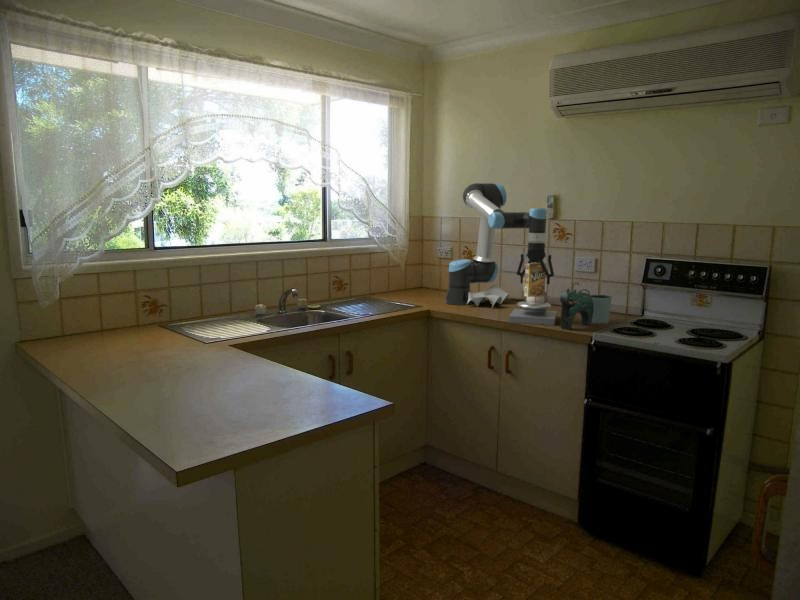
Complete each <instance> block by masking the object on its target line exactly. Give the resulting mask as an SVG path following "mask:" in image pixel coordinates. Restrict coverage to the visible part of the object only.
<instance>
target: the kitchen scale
mask: <svg viewBox="0 0 800 600" xmlns="http://www.w3.org/2000/svg"><path fill="white" fill-rule="evenodd" d="M547 297H548V291H547V292H545V297H526V296H524V301H536V302H545V303H547ZM557 313H558V311H557V310H555V311H554V310H547V308H546V309H530V308H523V309H522V308H521V309H520V308H514V309H513V310H512V311H511V313H510V314H509V315H508V323H512V324H524V323H530V324H529V325H539V324H544V325H543V326H555V324H556V321H557Z"/></svg>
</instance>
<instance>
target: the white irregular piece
mask: <svg viewBox="0 0 800 600" xmlns="http://www.w3.org/2000/svg"><path fill="white" fill-rule="evenodd" d="M509 295H510V293H509V292H506V291H505V290H504V289H503V288H502V286H500V285H498V284H496V285H491V286H490V287H489V288H488V289H487V290H483V291H479V292H471V293H470V292H468V302H469V301H471V300H473V303H474V304H475V306H476V307H480V306H479V305H480V304H481V303H486V298H487V299H488V300H489V305H490V304H492V305H491V309H493V308H494V306H495V304H498V305H499V306H501V305H502V303H503V301H504V300H505V301H504V302H505V303H506V301H508V298H509ZM468 302H467V304H468ZM500 304H501V305H500ZM468 305H469V304H468Z"/></svg>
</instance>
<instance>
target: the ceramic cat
mask: <svg viewBox="0 0 800 600" xmlns="http://www.w3.org/2000/svg"><path fill="white" fill-rule="evenodd" d="M575 284H576V285H577V286H579V285H580V284H579V282H574V283H572V287H571V289H572V290H570V288H567V289H564V290H563V291H562V292H561V293H560V295H559V300H560V303H561V313H560V316H561V317H560V318H561V319H560V320H561V321H560V329H561V328H562V329H561V330H565V329H566V331H569V329H570V330H572V326H573V322H574V319H575V317H576V315H577V314H580V316H581V325H582V326H585V325H587V326H586V327H589V325H590V326H591V325H592V322H591V321H592V316H593V308H594V307H593V301H592V298H591V296H590V295H591V293H590V290H588V289H584V288H583V289H580V290H579V291H578V289H574V285H575ZM583 291H587V292H583Z"/></svg>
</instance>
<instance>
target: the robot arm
mask: <svg viewBox="0 0 800 600" xmlns="http://www.w3.org/2000/svg"><path fill="white" fill-rule="evenodd" d="M462 201H463V202H464V204H465V205H466V206H467V207H469V208H470V209H474V210H475V211H477V212H478V213H479V214H480V219H479V229H478V237H477V247H476V255H475V256H474V257H473V261H472V260H470V259H465V258H464V259H457V260H452V261H450V263H449V264H448V265H449V266H448V289H447V293H446V295H445V300H444V303H445V304H448V305H455V306H456V305H457V306H459V305H460V306H462V305H463V306H468V305H472V304H473V303H474V301H473V300H471V301H469V302H468V292H470V293H472V292H471V291H472V290H471V284H487V283H493V281H495V280H496V278H497V276H498V272H499V268H498V263H497V262H496V261H495V258H494V257H493V255H494V254H493V252H494V246H495V245H494V244H495V238H496V237H495V235H496V230H500V229H501V230H502V229H504V230H506V229H509V230H510V229H524V230H525V229H528V243H527V253H521V254H520V261H519V264H518V268H517V272H516V275H517V276H519V277H520V284H522V292H524V284H525V267H524V269H523V268H522V267H523V264H524V261H525V259H526V258H528V261H527V263H529V264H530V263H540V264H541V265H542V268H543V270H544V272H545V274H546V277H545V292H547V293H548V285H550V282H551V281H550V280H551V277H554V276H555V272H554V268H553V262H552V254H546V252H545V251H546V243H545V242H546V235H547V234H546V229H547V217H548V216H547V209H546V208H542V207H541V208H540V207H539V208H536V207H535V208H532V207H531V208H529V212H528V211H527V212H526V211H520V212H519V211H518V212H516V211H515V212H514V211H513V212H510V211H504V210H502V207H503V206H505V204H506V203H507V191H506V188H505V187H504V185H502V184H500V183H495V182H493V183H490V182H489V183H488V182H487V183H478V182H475V183H472V184H469V185H467V187H465V189H464V191H463V193H462ZM545 258H546V260H547V263H548V267H549V270H548V269H547V266H546V267H545V265H544V263H545V262H544V259H545ZM522 269H523V270H522ZM521 271H522V272H521ZM549 271H550V273H549ZM467 302H468V304H467Z"/></svg>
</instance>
